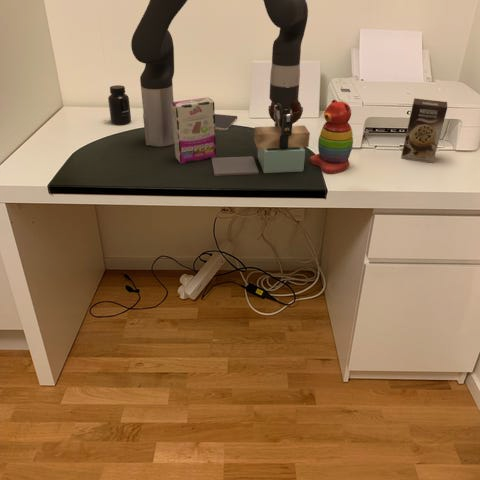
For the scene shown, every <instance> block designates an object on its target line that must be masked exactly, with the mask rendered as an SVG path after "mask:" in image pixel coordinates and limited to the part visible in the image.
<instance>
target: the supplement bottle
mask: <svg viewBox="0 0 480 480" xmlns="http://www.w3.org/2000/svg"><path fill="white" fill-rule="evenodd" d="M109 92H110V93H109V94H110V95H108V98H107V99H108V100H107V101H108V108H109V115H110V116H109V117H110V122H111V124H113V125H116V126H125V125H128V124H130V123H131V122H132V115H131V103H130V98H129V95H127V94H126V87H125V86H124V85H122V84H121V85H112V86H109Z"/></svg>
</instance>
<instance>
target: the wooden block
mask: <svg viewBox="0 0 480 480" xmlns="http://www.w3.org/2000/svg"><path fill="white" fill-rule="evenodd" d="M284 131H287V128H285V129H284ZM310 134H311V133H310V131H309V130H308V127H306V125H303V124H301V125H292V134H291V136H289V138H288V148H296V147H303V148H309V147H310V146H309V144H310ZM253 137H254V141H253V142H254V143H255V146H256V148H257V150H258V149H269V148H280V147H279V145H280V127H278V126H275V125H273V126H254V136H253Z"/></svg>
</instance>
